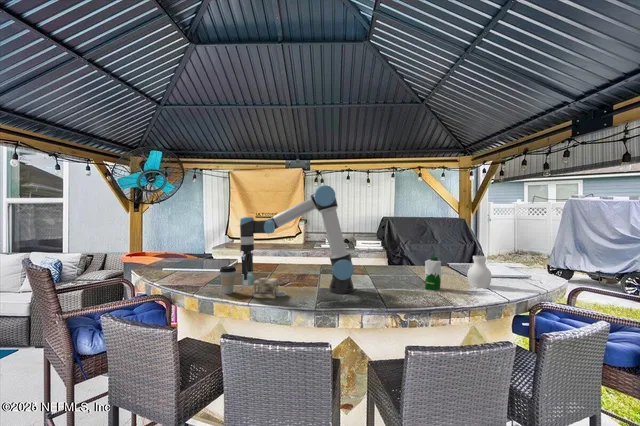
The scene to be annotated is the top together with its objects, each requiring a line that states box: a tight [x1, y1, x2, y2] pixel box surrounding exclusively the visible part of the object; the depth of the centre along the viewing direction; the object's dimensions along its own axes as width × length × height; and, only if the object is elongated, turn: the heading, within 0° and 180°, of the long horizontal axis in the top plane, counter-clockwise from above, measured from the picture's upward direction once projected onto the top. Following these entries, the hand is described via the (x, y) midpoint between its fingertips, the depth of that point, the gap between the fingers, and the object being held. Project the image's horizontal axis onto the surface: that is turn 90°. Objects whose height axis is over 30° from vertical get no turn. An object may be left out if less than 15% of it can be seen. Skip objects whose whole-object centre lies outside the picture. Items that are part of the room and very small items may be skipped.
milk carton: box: [424, 256, 442, 291], centre depth 187 cm, size 9×9×20 cm
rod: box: [251, 290, 287, 297], centre depth 169 cm, size 19×3×3 cm, turn 89°
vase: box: [467, 255, 492, 289], centre depth 194 cm, size 14×14×20 cm
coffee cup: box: [219, 265, 237, 295], centre depth 173 cm, size 9×9×15 cm
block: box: [241, 273, 255, 287], centre depth 169 cm, size 5×5×6 cm
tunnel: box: [253, 277, 279, 299], centre depth 168 cm, size 12×9×9 cm
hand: (247, 284), depth 169 cm, fingers closed on block, 5 cm apart
